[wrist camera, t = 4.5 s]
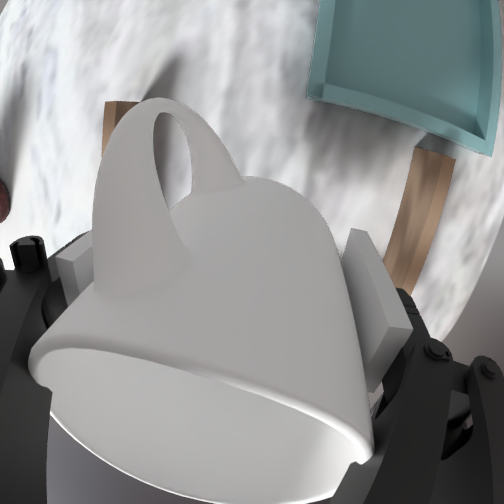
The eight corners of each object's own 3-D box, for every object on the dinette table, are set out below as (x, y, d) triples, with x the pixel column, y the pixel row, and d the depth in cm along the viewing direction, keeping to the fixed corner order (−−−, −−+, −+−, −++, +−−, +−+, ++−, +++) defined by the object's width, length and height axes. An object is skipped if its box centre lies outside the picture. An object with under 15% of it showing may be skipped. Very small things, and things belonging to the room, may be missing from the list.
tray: (327, -73, 11) (329, -88, 9) (481, -14, 10) (494, -21, 8) (305, 98, 19) (306, 94, 16) (475, 152, 18) (491, 157, 15)
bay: (139, 102, 20) (105, 101, 16) (425, 150, 19) (455, 159, 14) (135, 264, 27) (109, 291, 22) (374, 310, 25) (385, 346, 21)
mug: (311, 83, 11) (379, -36, 1) (339, 314, 16) (356, 505, 6) (132, 127, 12) (-74, 195, 3) (195, 325, 18) (129, 484, 8)
